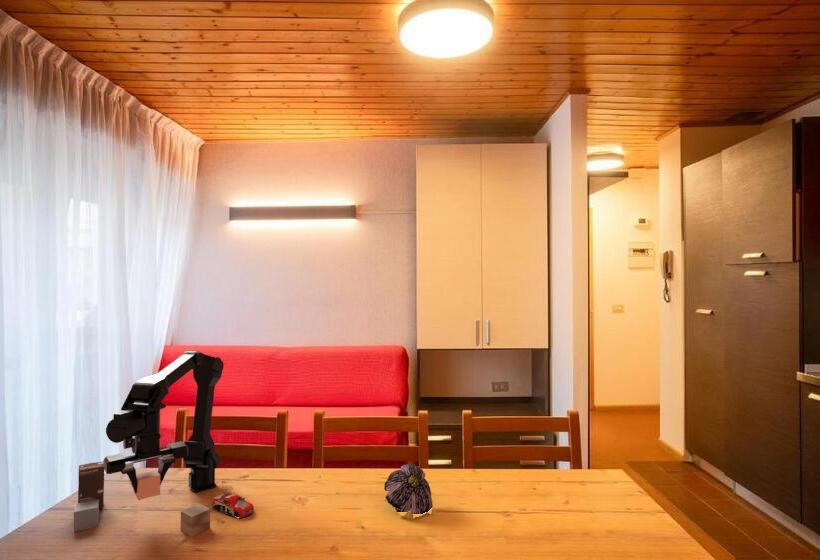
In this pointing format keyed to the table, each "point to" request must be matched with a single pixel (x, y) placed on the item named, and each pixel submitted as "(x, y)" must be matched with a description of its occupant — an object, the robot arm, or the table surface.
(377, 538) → the table surface
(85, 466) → the box
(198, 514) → the metal block
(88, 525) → the gray block
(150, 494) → the terracotta block
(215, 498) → the race car
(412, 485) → the decorative flower
